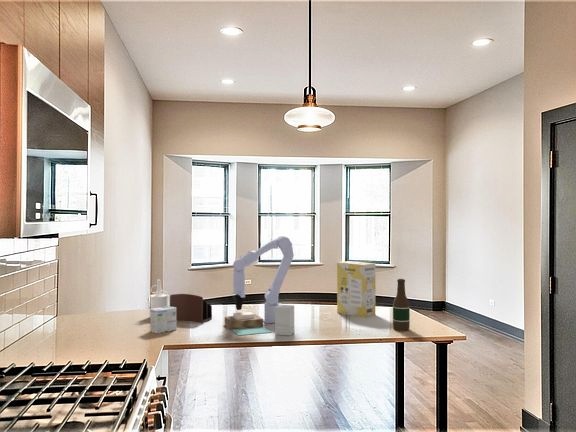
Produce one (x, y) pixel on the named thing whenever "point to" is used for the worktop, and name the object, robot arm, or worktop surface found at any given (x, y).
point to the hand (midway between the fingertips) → (238, 309)
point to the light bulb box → (163, 319)
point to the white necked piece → (159, 297)
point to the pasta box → (356, 288)
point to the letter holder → (191, 308)
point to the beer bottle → (401, 308)
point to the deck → (243, 322)
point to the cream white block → (243, 315)
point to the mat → (251, 331)
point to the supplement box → (284, 320)
